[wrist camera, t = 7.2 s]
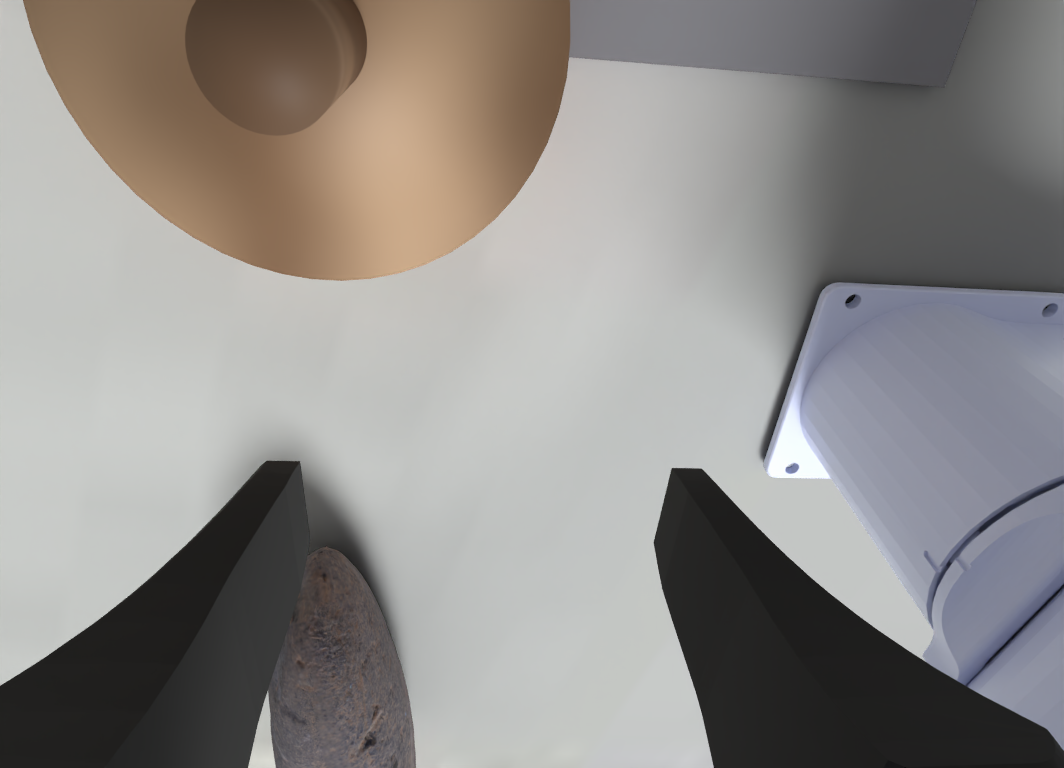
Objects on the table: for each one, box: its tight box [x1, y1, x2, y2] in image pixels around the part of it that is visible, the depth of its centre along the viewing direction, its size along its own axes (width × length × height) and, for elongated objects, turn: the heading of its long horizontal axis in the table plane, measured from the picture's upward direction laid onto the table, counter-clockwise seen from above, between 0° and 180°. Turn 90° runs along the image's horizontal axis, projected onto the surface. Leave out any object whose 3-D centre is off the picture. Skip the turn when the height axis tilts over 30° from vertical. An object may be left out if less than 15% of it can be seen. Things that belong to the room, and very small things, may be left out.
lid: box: [23, 0, 570, 281], centre depth 13 cm, size 11×11×4 cm
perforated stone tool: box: [268, 545, 416, 768], centre depth 27 cm, size 15×5×7 cm, turn 178°
